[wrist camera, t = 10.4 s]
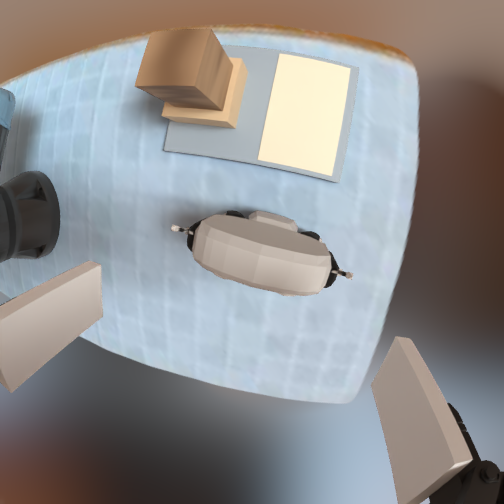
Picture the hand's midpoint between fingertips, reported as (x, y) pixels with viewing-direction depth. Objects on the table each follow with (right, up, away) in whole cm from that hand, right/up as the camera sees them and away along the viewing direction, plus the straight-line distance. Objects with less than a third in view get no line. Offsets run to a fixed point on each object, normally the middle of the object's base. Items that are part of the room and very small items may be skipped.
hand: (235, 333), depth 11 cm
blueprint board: (+2, +20, +17) cm, 26 cm away
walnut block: (-4, +19, +12) cm, 23 cm away
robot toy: (+3, +6, +21) cm, 22 cm away
